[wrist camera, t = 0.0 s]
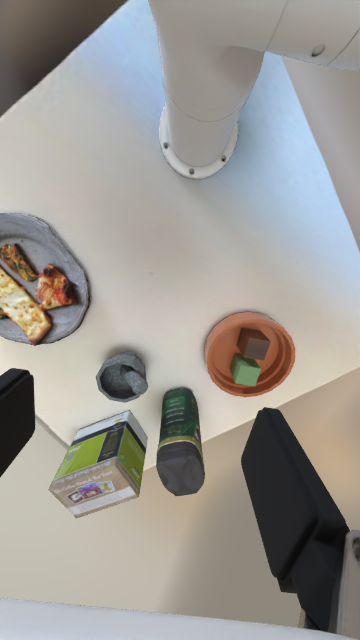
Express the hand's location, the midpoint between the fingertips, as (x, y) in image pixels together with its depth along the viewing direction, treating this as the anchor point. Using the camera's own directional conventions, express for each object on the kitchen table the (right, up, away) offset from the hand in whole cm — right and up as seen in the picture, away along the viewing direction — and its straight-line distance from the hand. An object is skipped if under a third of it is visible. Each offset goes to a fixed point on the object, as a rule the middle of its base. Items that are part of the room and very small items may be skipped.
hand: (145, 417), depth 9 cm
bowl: (+15, -2, +40) cm, 43 cm away
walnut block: (+16, 0, +38) cm, 41 cm away
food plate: (-29, +11, +35) cm, 47 cm away
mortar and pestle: (-10, -6, +41) cm, 42 cm away
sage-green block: (+15, -5, +40) cm, 43 cm away
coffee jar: (+2, -16, +45) cm, 48 cm away
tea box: (-15, -25, +48) cm, 56 cm away
